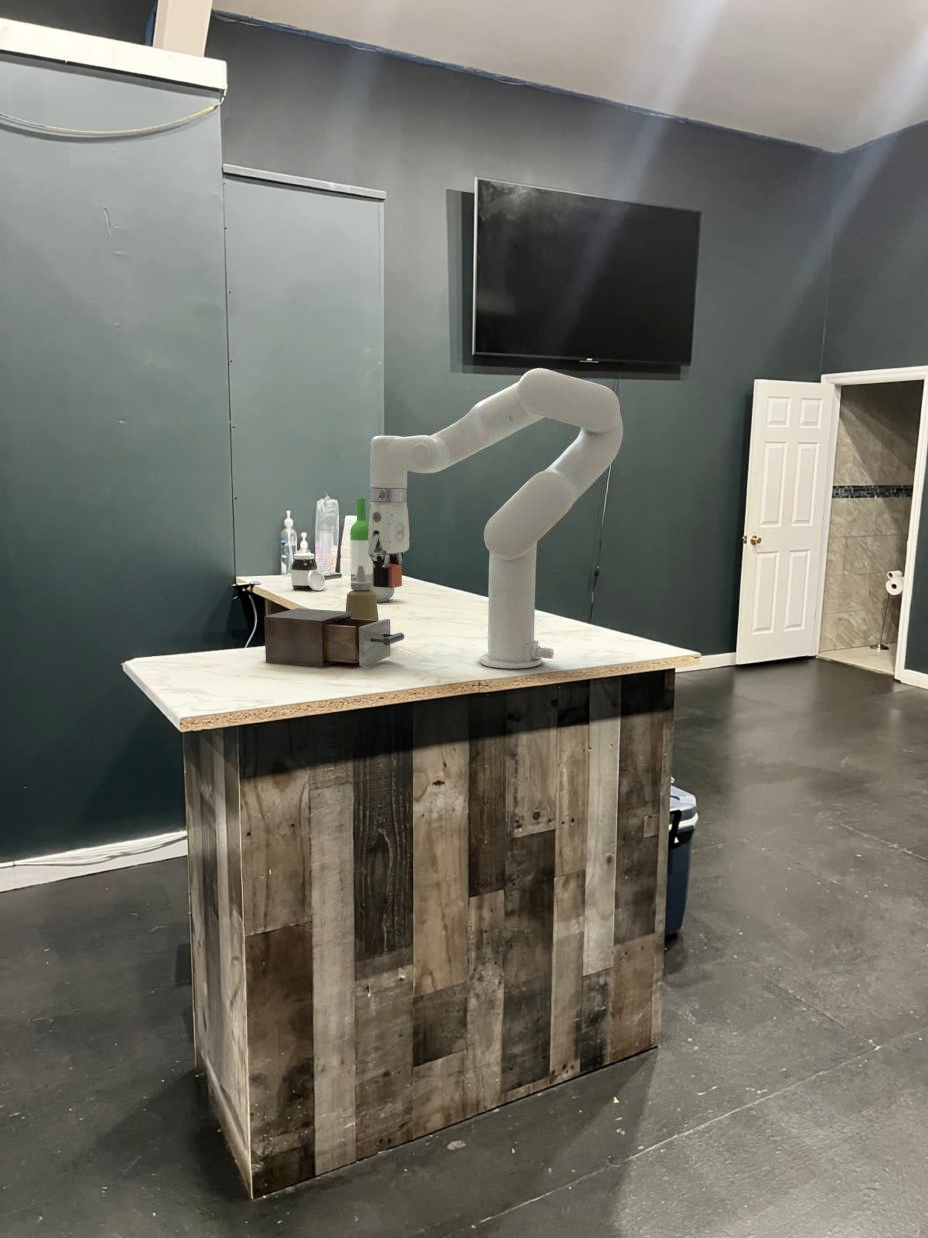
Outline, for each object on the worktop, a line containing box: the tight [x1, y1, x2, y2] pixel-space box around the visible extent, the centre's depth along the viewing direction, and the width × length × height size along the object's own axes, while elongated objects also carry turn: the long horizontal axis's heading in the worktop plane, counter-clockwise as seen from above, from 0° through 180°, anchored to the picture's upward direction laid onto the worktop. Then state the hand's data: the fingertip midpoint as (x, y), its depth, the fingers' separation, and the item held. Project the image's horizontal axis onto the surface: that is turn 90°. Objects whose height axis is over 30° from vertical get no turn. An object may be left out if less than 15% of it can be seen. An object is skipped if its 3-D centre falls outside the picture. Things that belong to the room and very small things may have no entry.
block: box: [373, 563, 403, 589], centre depth 191 cm, size 4×4×4 cm
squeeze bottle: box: [345, 566, 380, 621], centre depth 208 cm, size 8×8×18 cm
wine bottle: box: [349, 497, 373, 583], centre depth 323 cm, size 8×8×30 cm
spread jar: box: [290, 553, 326, 592], centre depth 307 cm, size 12×11×12 cm
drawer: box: [324, 618, 405, 667], centre depth 188 cm, size 17×11×8 cm
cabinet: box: [263, 607, 353, 668], centre depth 192 cm, size 14×13×10 cm
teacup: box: [352, 573, 395, 603], centre depth 281 cm, size 14×11×8 cm
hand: (387, 584), depth 191 cm, fingers closed on block, 4 cm apart
